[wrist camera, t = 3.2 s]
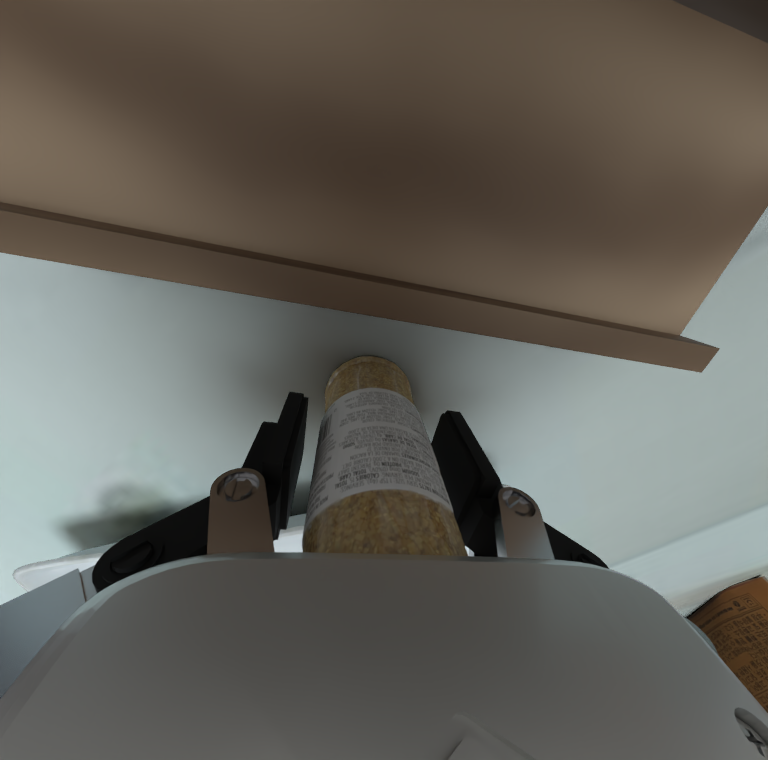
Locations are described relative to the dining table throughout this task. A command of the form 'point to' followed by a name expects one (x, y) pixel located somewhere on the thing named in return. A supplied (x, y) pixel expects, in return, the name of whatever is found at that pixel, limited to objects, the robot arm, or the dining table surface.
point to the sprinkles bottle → (376, 471)
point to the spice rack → (398, 155)
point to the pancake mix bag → (740, 632)
